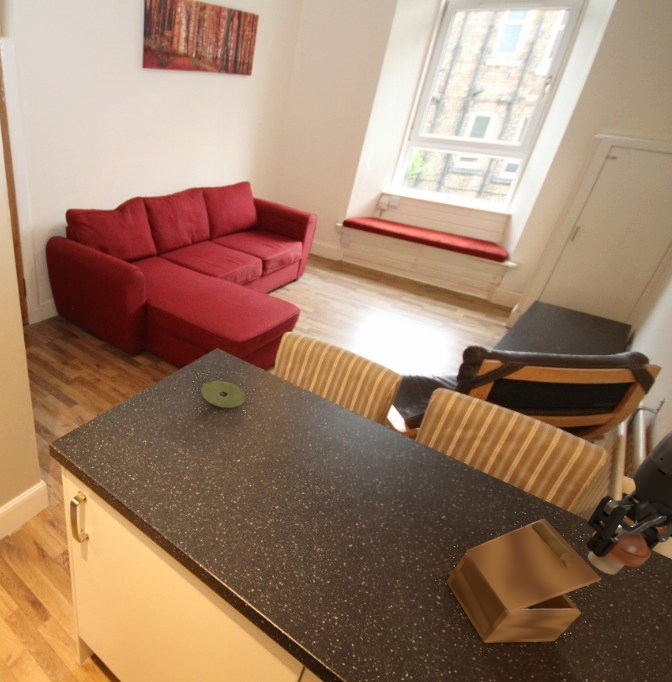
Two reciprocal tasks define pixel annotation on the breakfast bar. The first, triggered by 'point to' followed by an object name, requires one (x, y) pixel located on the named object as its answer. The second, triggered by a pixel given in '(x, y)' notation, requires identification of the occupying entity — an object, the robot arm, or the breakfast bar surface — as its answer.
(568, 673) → the breakfast bar surface
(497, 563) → the lid
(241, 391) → the green disc with hole
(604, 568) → the mushroom
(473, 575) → the breadbox
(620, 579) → the breakfast bar surface
